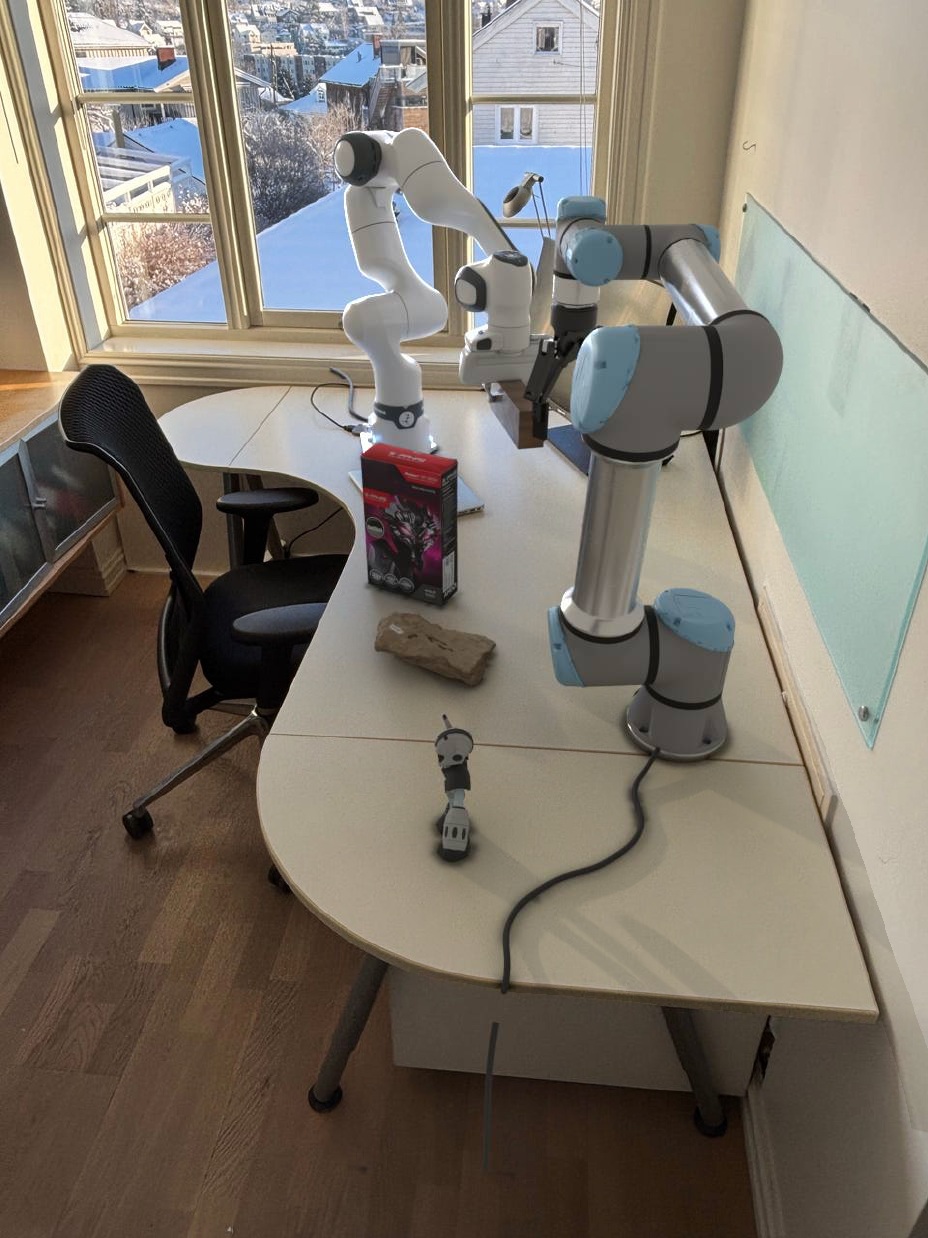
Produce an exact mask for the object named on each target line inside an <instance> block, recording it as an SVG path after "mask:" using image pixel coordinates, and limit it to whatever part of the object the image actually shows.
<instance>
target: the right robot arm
mask: <svg viewBox="0 0 928 1238" xmlns="http://www.w3.org/2000/svg"><path fill="white" fill-rule="evenodd" d="M607 221H608V217H607V203H606V201H605V199H603V198H602V197H600V196H599V197H598V196H592V195H569V196H564V197H562V198H561V199H560V200H559V201H558V203H557V208H556V218H555V219H554V224H555V236H554V257H553V273H552V274H553V276H552V277H553V278H552V289H551V290H552V291H551V292H552V293H551V299H552V300H553V302H552V303H551V304H550V317H549V318H550V320H549V323H550V326H551V327H552V329H553V335H552V336H553V339H552V338H551V339H552V340H546V339H541V340H540V342H539V350H538V355H537V358H536V361H535V363H534V366H533V369H532V372H531V375H530V378H529V381H528V383H527V386H526V389H525V392H524V395H523V398H524V399H526V400H529V401H531V402H532V420H533V430H532V437H535V438H538V439H540V440H543V441H544V442H545V441H547V440H548V433H549V431H548V430H549V418H550V417H549V415H550V402H549V401H547V400H548V398H549V396H550V394H551V392H552V390H553V389H554V387H555V385H556V383H557V381H558V379H559V377H560V375H561V373H562V371H563V369H566V368H567V367H568V365H569V364H570V363H573V362H574V361H575V365H574V368H573V373H572V380H571V395H570V399H569V401H570V402H569V411H570V412H569V413H570V414H569V415H570V421H571V424H572V427H573V429H574V430H576V431H577V432H579V433H580V437H581V441H582V442H583V444H584V446H585V447H586V448H587V449H588V450H589V451H590V452H591V454H590V461H589V469H588V477H587V484H586V492H585V499H584V508H583V516H582V523H581V530H580V539H579V546H578V553H577V554H578V555H577V560H576V561H577V562H576V568H575V569H576V570H575V578H574V579H575V580H574V584H573V585H572V586H571V587H570V588H568V589H567V590H566V591H565V593H564V594H563V596H562V599H561V602H560V605H555V606H552V607H550V608H548V610H547V628H548V636H549V646H550V647H549V648H550V654H551V662H552V668H553V673H554V677H555V679H556V681H557V683H559V684H560V685H561V686H564V687H575V688H582V689H584V688H585V689H586V688H595V687H597V688H598V687H621V686H622V687H624V686H640V688H638V689H637V690H636V691H635V692H634V694H633V695H632V696H631V697H632V698H633V699H632V701H631V702H630V704H629V706H628V708H627V711H626V719H625V728H626V732H627V734H628V736H629V738H630V739H631V741H632V742H634V744H636V745H637V746H638V747H639V748H640V749H641V750H643V751H645V752H646V753H648V754H650V756H649V759H648V760H647V761H646V763H645V765H644V767H643V768H642V769H641V771H640V772H639V774H638V775H637V777H636V778H635V780H634V781H633V785H632V788H631V797H632V802H633V805H634V809H635V812H636V815H637V819H638V822H637V828H636V831H635V833H634V834H633V836H632V838H630V840H629V841H628V842H627V843H626V844H625V845H624V846H623V847H622V848H620V849H619V850H617V851H615V852H614V853H613V854H611V855H608V857H606V858H604V859H603V860H601V861H599V862H596V863H593V864H591V865H589V866H588V865H587V866H586V867H582V868H579V869H574V870H572V871H567V872H564V873H562V874H560V875H557V876H554V877H553V878H551V879H549V880H547V881H546V882H544V883H542V884H541V885H539V886H538V887H535V888H534V889H533V890H531V891H530V892H528V893H527V894H526V895H525V896H524V897H522V898H521V899H520V900H519V901H518V902H517V904H515V906H514V907H513V909H512V910H511V912H510V913H509V915H508V917H507V919H506V921H505V924H504V927H503V930H502V953H503V972H502V973H503V975H502V981H501V987H500V994H501V995H507V993H508V992H509V986H510V980H511V968H512V964H511V963H512V961H511V948H510V947H511V946H510V933H511V929H512V926H513V924H514V921H515V919H516V917H517V916H518V914H519V913H520V911H521V910H522V909H523V908H524V907H525V906H526V905H527V904H528V903H529V902H530V901H532V900H533V899H534V898H536V897H537V896H539V895H540V894H542V893H544V892H545V891H547V890H548V889H550V888H552V887H553V886H556V885H557V884H559V883H561V882H564V881H567V880H570V879H573V878H575V877H580V876H583V875H587V874H591V873H593V872H596V871H598V870H601V869H603V868H605V867H607V866H609V865H611V864H612V863H614V862H615V861H616V860H618V859H620V858H621V857H623V856H624V855H625V854H626V853H628V852H629V851H631V849H632V848H634V846H635V845H636V844H637V843H638V842H639V839H640V838H641V836H642V834H643V831H644V828H645V816H644V812H643V809H642V807H641V806H642V805H641V804H640V800H639V795H638V793H639V792H638V791H639V786H640V784H641V782H642V780H644V779H643V778H644V777H645V776H646V774H647V773H648V772H649V770H650V769H651V767H652V766H653V764H654V762H655V761H656V759H657V758H659V759H662V760H666V761H670V762H675V763H694V762H700V761H703V760H706V759H709V758H711V757H714V755H716V754H718V752H720V751H721V750H722V748H723V747H724V744H725V743H726V740H727V739H726V738H727V733H728V721H727V716H726V712H725V708H724V707H725V706H724V701H723V692H724V686H725V682H726V678H727V674H728V669H729V664H730V659H731V654H732V651H733V649H734V646H735V631H736V620H735V617H734V614H733V612H732V611H731V609H730V608H729V607H728V606H727V605H726V604H725V603H723V601H721V600H720V599H718V598H716V597H715V596H712V595H711V594H709V593H706V592H704V591H701V590H698V589H695V588H694V589H693V588H687V587H672V588H667V589H665V590H664V591H660V592H659V593H658V595H657V596H656V597H655V599H654V600H653V604H644V603H643V601H642V599H641V598H640V597H639V595H638V590H639V585H640V579H641V574H642V568H643V563H644V559H645V553H646V549H647V544H648V543H647V542H648V538H649V532H650V528H651V527H650V526H651V524H652V523H651V522H652V517H653V512H654V506H655V501H656V497H657V496H656V495H657V490H658V485H659V480H660V474H661V469H662V464H663V461H664V460H667V459H669V458H670V457H671V456H673V455H674V454H675V453H676V452H677V450H678V448H679V445H680V441H681V436H682V432H687V431H688V432H690V431H691V432H692V431H717V430H724V429H727V428H731V427H733V426H736V425H738V424H740V423H742V422H745V421H746V420H747V419H749V418H751V417H752V416H753V415H755V414H756V413H757V412H758V411H759V410H760V409H762V407H763V406H764V405H765V404H766V403H767V402H768V401H769V399H770V398H771V397H772V395H773V394H774V392H775V390H776V388H777V386H778V384H779V382H780V379H781V376H782V373H783V368H784V367H783V366H784V350H783V346H782V345H783V344H782V342H781V341H782V340H781V338H780V336H779V333H778V332H777V330H776V329H775V327H774V325H772V323H771V322H770V320H769V319H768V318H767V317H766V316H765V315H764V314H762V313H760V312H759V311H757V310H755V309H750V308H749V306H748V305H747V303H746V302H745V300H744V299H743V298H742V296H741V295H740V294H739V292H738V291H737V289H736V287H735V286H734V285H733V283H732V282H731V280H730V279H729V277H728V276H727V275H726V273H725V271H724V270H723V269H722V267H721V266H720V260H721V253H722V252H721V251H722V243H721V242H722V241H721V239H720V233H719V230H718V229H717V228H716V227H715V226H714V225H711V224H709V225H708V224H699V223H694V222H691V223H677V224H676V223H674V224H673V223H671V224H669V223H667V224H666V223H665V224H607V223H606V222H607ZM612 281H660V282H661V284H662V286H663V287H664V289H665V291H666V293H667V296H668V297H669V298H670V301H671V302H672V304H673V306H674V308H675V310H676V312H677V314H678V315H679V317H680V319H681V321H682V323H683V325H636V324H633V323H625V324H623V325H616V326H615V325H614V326H603V325H600V324H598V323H597V322H598V311H599V305H598V302H599V300H600V295H601V294H600V292H601V287H602V286H603V287H604V286H605V285H607V284H609V283H611V282H612ZM531 392H532V393H531ZM499 1027H500V1022H495V1021H492V1022H491V1028H490V1036H489V1041H488V1042H489V1043H488V1049H487V1058H486V1059H487V1060H486V1068H485V1069H486V1070H485V1082H484V1105H483V1106H484V1107H483V1108H484V1112H483V1153H482V1172H483V1173H485V1174H486V1173H488V1172H489V1167H490V1166H489V1165H490V1150H491V1149H490V1148H491V1114H492V1113H491V1110H492V1107H491V1106H492V1087H493V1086H492V1085H493V1073H494V1063H495V1053H496V1047H497V1040H498V1033H499Z"/></svg>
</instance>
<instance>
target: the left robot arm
mask: <svg viewBox="0 0 928 1238" xmlns="http://www.w3.org/2000/svg"><path fill="white" fill-rule="evenodd" d="M332 161H333V166H334V170H335V173H336V175H337V176H338V179H340V180H341V181H342V182H343V183H345V184H347V185H348V186H347V188H346V189H345V191H344V196H343V199H344V202H343V203H344V211H345V219H346V224H347V228H348V233H349V234H348V235H349V237H350V241H351V246H352V249H353V252H354V256H355V261H356V264H357V267H358V270H359V271H360V273H361V274H362V276H365V277H366V278H367V279H369V280H372V281H374V282H376V283H378V284H379V285H380V286H381V287H382V288H383V289H384V290H385V293H380V294H379V293H378V294H374V295H373V294H372V295H366V296H364V297H361V298H358V299H356V300H353V301H351V302H349V303H348V304H347V305H346V307H345V309H344V311H343V315H342V327H343V331H344V333H345V336H346V337H347V338H348V340H349V341H350V342H351V343H352V344H353V345H355V346H356V347H358V348H359V349H361V350H362V351H363V352H364V353H365V355H366V356H367V357H368V360H369V361H370V363H371V367H372V370H373V377H374V385H375V386H374V387H375V398H374V401H373V412H372V413H371V414H370V415H369V416H368V417H364V416H362V415H360V414H358V413H357V412H356V411H355V410H354V409H353V397H354V385H353V382H352V380H351V378H350V377H349V376H348V375H347V374H346V373H344V372H342V371H340V370H339V369H336V368H335V367H332V366H329V367H328V369H329V370H330V371H332V372H334V373H336V374H338V375H340V376H342V377H343V378H344V379H345V380H346V381H347V382H348V385H349V397H348V410H349V412H350V414H351V415H352V416H354V417H355V418H357V419H358V420H360V421H363V422H366V423H363V424H362V432H360V434H359V440H360V444H361V449H362V454H363V453H364V452H365V451H366V450H367V449H368V448H370V447H371V446H373V445H374V444H376V443H378V442H379V443H384V444H388V445H392V446H397V447H401V448H405V449H410V450H414V451H418V452H422V453H427V454H431V453H432V452H434V451H436V450H437V449H438V446H437V443H435V442H434V441H433V440H434V438H433V436H432V434H431V433H432V432H431V423H430V422H431V421H430V418H429V417H428V416H427V415H426V414H424V413H425V401H424V400H425V399H424V397H423V392H422V391H423V387H422V386H423V385H422V382H423V381H422V369H421V366H420V365H419V363H418V362H417V360H415V359H414V358H412V357H411V356H409V355H406V354H404V353H402V351H401V343H402V342H407V341H413V340H419V339H423V338H428V337H430V336H433V335H435V334H436V333H439V332H441V331H442V330H444V328H445V327H446V325H447V322H448V319H449V307H448V303H447V301H446V299H445V297H444V296H443V294H442V293H441V292H440V291H438V290H437V289H435V288H433V287H432V286H430V285H429V284H428V283H426V282H425V281H424V280H423V279H422V278H421V277H420V276H419V274H418V273H417V272H416V270H415V269H414V268H413V266H412V264H411V263H410V261H409V258H408V256H407V253H406V251H405V248H404V244H403V240H402V237H401V234H400V229H399V226H398V222H397V218H396V215H395V212H394V208H393V207H394V206H393V198H394V195H395V194H397V195H399V196H403V197H404V199H405V201H406V203H407V206H408V208H410V210H411V211H412V213H413V214H414V215H415V216H416V217H417V218H418V219H419V220H420V221H422V222H424V223H426V224H430V225H434V226H437V227H444V228H445V227H446V228H449V229H453V230H457V231H460V232H462V233H465V234H467V235H468V236H470V237H472V239H473V240H474V241H475V242H476V243H477V245H478V246H479V248H480V249H481V250H482V252H483V254H485V257H487V258H485V259H483V260H481V261H476V262H472V263H469V264H466V265H463V266H462V267H461V268H459V270H458V272H457V273H456V276H455V278H454V295H455V299H456V302H457V303H458V304H459V306H460V307H461V308H462V309H464V310H465V311H466V312H469V313H484V314H486V315H487V320H486V324H484V325H483V326H479V327H478V328H475V329H473V330H470V331H468V332H466V333H465V334H464V342H465V346H464V347H463V348H462V350H461V352H460V356H459V357H460V358H459V363H458V365H459V366H458V377H459V380H460V381H461V382H462V383H463V385H465V386H471V385H482V387H483V389H484V390H485V392H486V395H487V396H486V397H487V399H486V400H487V403H488V404H490V403H496V400H495V399H496V395H495V393H491V383H497V381H510V380H522V381H523V382H524V384H525V385H526V386H527V383H528V381H529V378H530V375H531V372H532V369H533V366H534V363H535V361H536V358H537V355H538V350H539V342H540V340H541V339H546V340H552V339H553V336H554V335H551V334H549V333H543V334H538V333H537V334H536V333H535V334H531V317H530V316H531V315H530V306H531V303H532V300H533V299H532V298H533V296H534V294H535V292H536V289H537V283H538V277H537V272H536V270H535V266H534V265H533V264H532V262H531V261H530V259H529V258H528V256H527V255H525V254H524V253H522V252H521V251H520V250H519V249H518V248H517V247H516V246H515V244H514V243H513V241H512V240H511V239H510V237H509V236H508V235H507V233H506V231H504V229H503V227H502V226H501V225H500V223H499V222H498V221H497V219H496V218H495V217H494V215H493V214H492V212H491V211H490V209H489V208H488V207H487V206H486V204H485V203H484V202H483V201H482V200H481V199H480V198H479V197H477V196H476V195H475V194H474V193H472V192H471V191H470V190H469V189H468V188H466V187H465V186H464V185H463V184H462V182H461V181H460V180H459V179H458V178H457V177H456V175H455V174H454V173H453V171H452V170H451V168H450V167H449V164H448V163H447V161H446V159H445V158H444V156H443V154H442V152H441V151H440V150H439V148H438V147H437V146H436V144H435V142H433V140H432V139H431V138H430V137H429V136H428V134H427V133H426V132H425V131H423V130H422V129H420V128H417V127H409V128H405V129H402V130H401V131H399V132H395V131H389V130H369V131H368V130H367V131H360V130H354V131H349V132H346V133H343V134H342V135H340V136H339V137H338V139H337V140H336V142H335V145H334V148H333V153H332Z"/></svg>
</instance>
